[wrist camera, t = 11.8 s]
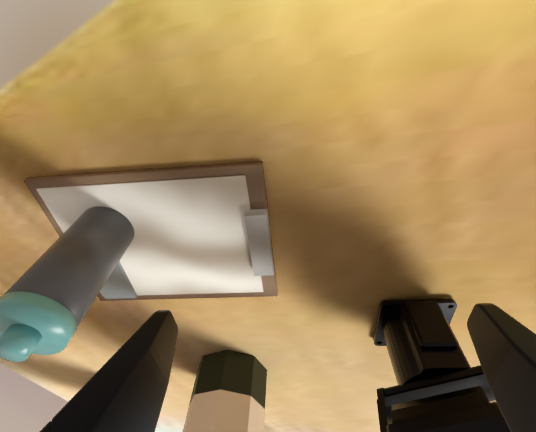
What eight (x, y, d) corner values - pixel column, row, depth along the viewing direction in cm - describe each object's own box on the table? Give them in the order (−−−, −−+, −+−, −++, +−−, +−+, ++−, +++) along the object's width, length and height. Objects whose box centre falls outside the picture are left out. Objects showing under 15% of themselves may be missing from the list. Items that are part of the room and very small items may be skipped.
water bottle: (142, 246, 24) (69, 373, 15) (94, 249, 24) (-3, 375, 16) (123, 203, 22) (24, 325, 13) (70, 208, 22) (-59, 329, 14)
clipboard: (277, 292, 27) (277, 303, 26) (102, 297, 29) (96, 307, 28) (262, 161, 20) (261, 169, 19) (27, 177, 21) (15, 185, 20)
